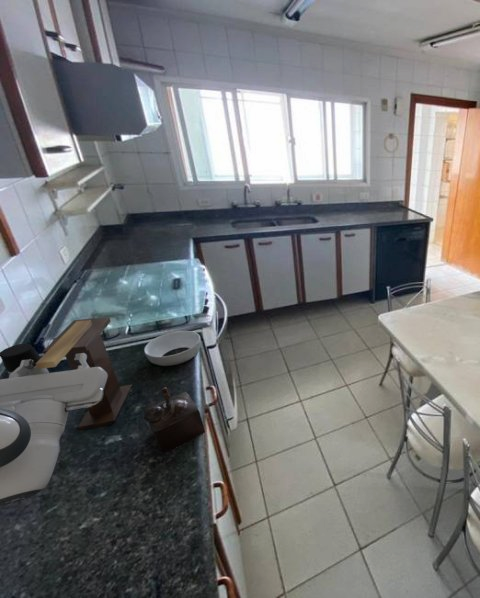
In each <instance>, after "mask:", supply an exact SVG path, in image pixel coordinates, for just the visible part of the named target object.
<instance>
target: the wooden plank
mask: <svg viewBox="0 0 480 598" xmlns="http://www.w3.org/2000/svg"><path fill="white" fill-rule="evenodd" d="M91 326H92V322H91V320H85V321H77V322H76V323H75V324H74V325H73V326H72V327H71V328H70V329H69V330H68V331H67V332H66V333H65V334H64V335H63V336H62V337H61V338H60V339H59V340H58V341H57V342H56V343H55V344H54V345H53V346H52V347H51V348H50V349H49V350H48V351H47V352H46V353H45V354H44V353H43V355H42V357H41V359H40V360H39V361H38V362H37V363H36V365H37V368H38V369H42V368H47V369H50V368H56V367H57V366H58V364H60V362H62V360H63V359H64V358H66V356H65V355H66V354H67V353H68V352H69V351H70V350H71V349H72V347H73V346H74V345H75V344H76V343H77V342H78V341H79V339H80V338H81V337H82V336H83V335H84V334H85V333H86V331H87V330H88V329H89V328H90V327H91Z"/></svg>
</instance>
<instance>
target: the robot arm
mask: <svg viewBox="0 0 480 598" xmlns="http://www.w3.org/2000/svg"><path fill="white" fill-rule="evenodd" d="M75 356H76V357H75V359H74V360H75V361H77V363H81V365H82V366H81V365H80V366H78V369H77V370H71V369H70V370H63V371H62V370H61V371H54V372H49V373H47V374H39V375H31V376H24V377H23V375H24V374H25V373H26V372H27V371H28V370H29V369H33V368H34V366H33V365H34V364H35V362H34V361H33V360H32V359H29V360H22V361H21V364H20V367H18V368H17V369H16V370H15V371H13V372H12V373H11V374H10V375H8V378H2V379H1V378H0V506H6V505H11V504H14V503H15V504H16V503H17V502H21V501H24V500H27V499H29V498H31V497H33V496H35V495H37V494H38V493H40V492H42V491H43V490H44V489H45V488H46V487H47V486H48V484H49V482H50V481H51V479H52V476H53V474H54V472H55V471H54V470H55V468H56V464H57V461H58V457H59V455H60V451H61V447H60V439H61V436H62V435H63V434H64V432H65V429H66V425H67V420H68V416H69V413H70V412H74V411H79V410H83V409H85V410H86V409H88V408H91V407H93V405H96V404H98V403H99V402H100V401H101V400H102V398H103V389H104V387H105V384H106V381H107V377H108V374H107V372H106V371H105V370H103V369H102V368H101V367H92V368H90V367H89V365H88V364H87V362H86V359H87V355H86V354H85V353H80V354H76V355H75ZM93 403H94V404H93Z"/></svg>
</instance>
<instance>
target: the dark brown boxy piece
mask: <svg viewBox="0 0 480 598" xmlns="http://www.w3.org/2000/svg"><path fill="white" fill-rule="evenodd" d="M161 392H162V394H161V395H162V397H163V398H164V400H162V401H160V402H157V403H155V404H153V405H150V406H148V407H146V408H143V409H144V410H143V412H144V416H143V420H144V421H145V422H147V423H148V425H149V427H150V430H151V431H152V432H151V433H152V435H153V437H154V441H153V445H154V447H157V446H158V447H159V450H160V451H161V453H162V454H163V455H165V454H167V453H170V452H171V450H172V451H174V450H175V448H176V447H178V448H180V447H182V446H183V445H185V444H187V443H189V442H191V441H193V440H195V439H196V438H198V437H200V436H202V435H203V434H205V433H206V430H205V426H204V422H203V419H202V416H201V413H200V410H199V408H198V406H197V405H196V403H195V401H194V400H193V398H192V397H191V396H190V395H189V393H188V392H187V391H183V392H181V393H178V394H176V395H174V396H171V395H170V392H169V389H168V388H167V387H166V386H165V387H164V386H163V387H162V388H161ZM186 442H187V443H186ZM184 443H185V444H184ZM179 446H180V447H179ZM173 449H174V450H173ZM176 449H177V448H176ZM166 452H167V453H166ZM164 453H165V454H164Z"/></svg>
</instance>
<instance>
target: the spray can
mask: <svg viewBox="0 0 480 598" xmlns="http://www.w3.org/2000/svg"><path fill="white" fill-rule="evenodd" d="M41 358H42V357H41V356H40V354H39V352H37V351H36V349H35V347H34V346H32V345H31V344H30V343H28V342H27V343H26V342H25V343H19V344H15V345H11V346H9V347H7V348H4V349H3V350H2V351H0V359H1V361H2V363H3V367H4V368H5V371H6V372H7V374H8V376H10V374H11V373H12V372H13V371H15V370H16V369H17V368H18V367H20V364H21V361H22V360H29V359H32V360H33V361H34V362H35V364H34V365H33V366H34V368H33V369H29V370H28V371H27V372H26V373H25V374H24V375H23V377H24V376H31V375H39V374H47V373H50V372H49V370H48V368H42V369H38V368H37V365H36V363H37V362H38V361H39V360H40V359H41Z"/></svg>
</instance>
